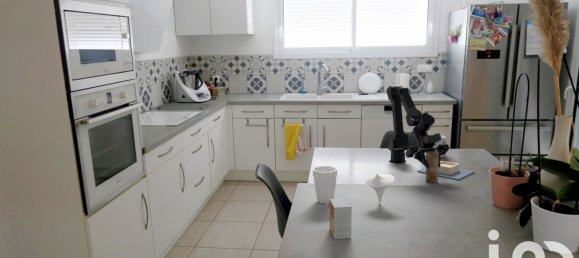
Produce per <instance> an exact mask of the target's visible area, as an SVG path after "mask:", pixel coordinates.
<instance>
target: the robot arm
mask: <svg viewBox="0 0 579 258" xmlns="http://www.w3.org/2000/svg"><path fill="white" fill-rule="evenodd" d="M386 95H387V100H388V101H389V102H390V103H391V113H392V126H393V132H392V134H391V137H390V141H389V143H388V144H387V150H389V151H390V160H388V162H389V163H395V164H403V163H406V162H407V160H406V158H409V159H411V158H413V159H414V160H417V161H418V162H419V163H421V164H422V165H423V166H424V168H425V167H426V168H429V165H428V162H427V160H426V158H427V157H426V156H425V153H427V151H437V152H439V161H438V167H440V161H441V157H440V156H441V155H445V154H446V155H447V153H448V151H449V150H450V145H449V144H448V143H446V144H439V145H438V147H436V148H433V146H435V143H436V142H438V141H440V140H441V135H442V134H440V133H435V134H429V133H428V132H429V131H430V130H431V128H432V127H433V126H434V124H435V123H436V122H435V121H436V119H435V117H434V116H433V115H431V114H429V113H428V112H427V111H426V112H422V111H421V110H419V109H418V108H417V107H416V104H415V103H414V101H413V99H412V96H411V93H410V89H409V87H406V86H405V87H403V86H402V84H401V85H398V84H397V85H389V86H388V87H387V88H386ZM403 108H404V110H405V112H406V113H405V115H406V116H405V121H406V124H407V125H408V127H413V128H412V131H411V135H414V138H415V140H416V142H415V145H410V146H409V144H410V140H409V134H408V133H406V131H405V129H404V120H403V119H404V118H403Z"/></svg>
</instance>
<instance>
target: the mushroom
mask: <svg viewBox="0 0 579 258" xmlns="http://www.w3.org/2000/svg"><path fill="white" fill-rule="evenodd" d="M395 180H396V178H395V176H394V175H392V174H390V173H389V174H387V173H377V174H375V175H371V176H370V177H368V179H366V180H365V183H366V185H367V186H368V187H370V188H372V189H373V190H374V191H375V193H376V196H377V200H378V204H379V203H381V204H382V199H383V197H384V193H385V192H386V190H387V188H388V187H389V186H391V185H392V184H394V182H395Z"/></svg>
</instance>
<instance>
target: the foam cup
mask: <svg viewBox="0 0 579 258" xmlns="http://www.w3.org/2000/svg"><path fill="white" fill-rule="evenodd" d="M312 177H313V182H314V183H313V184H314V187H315V188H314V189H315V195H316V197H315V198H316V202H317V201H318V202H321V203H330V199H335V190H336V184H337V178H338V167H336V166H332V165H318V166H314V167H313V168H312ZM318 202H317V203H318Z"/></svg>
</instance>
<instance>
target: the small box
mask: <svg viewBox="0 0 579 258" xmlns="http://www.w3.org/2000/svg"><path fill="white" fill-rule="evenodd" d="M352 219H353V218H352V205H351V204H350V203H349V201H348V200H347V198H346V197H345V198H342V197H341V198H334V199H330V204H329V230H330V232H331V234H332V237H333V240H343V239H346V238H347V239H352Z"/></svg>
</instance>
